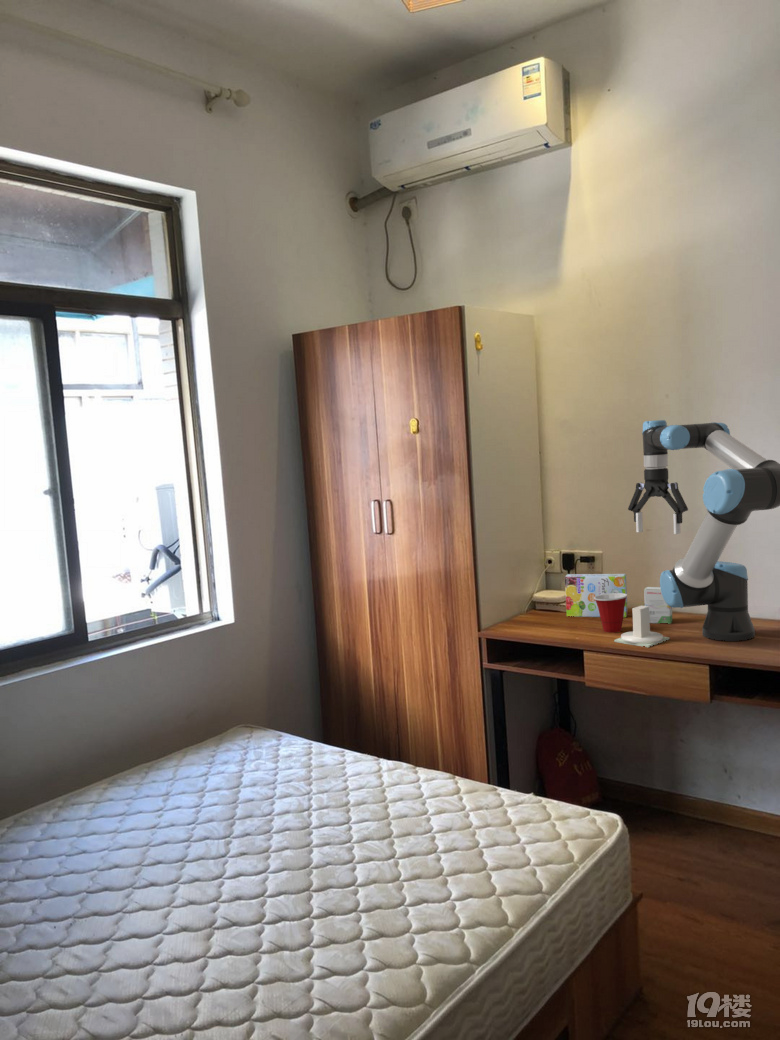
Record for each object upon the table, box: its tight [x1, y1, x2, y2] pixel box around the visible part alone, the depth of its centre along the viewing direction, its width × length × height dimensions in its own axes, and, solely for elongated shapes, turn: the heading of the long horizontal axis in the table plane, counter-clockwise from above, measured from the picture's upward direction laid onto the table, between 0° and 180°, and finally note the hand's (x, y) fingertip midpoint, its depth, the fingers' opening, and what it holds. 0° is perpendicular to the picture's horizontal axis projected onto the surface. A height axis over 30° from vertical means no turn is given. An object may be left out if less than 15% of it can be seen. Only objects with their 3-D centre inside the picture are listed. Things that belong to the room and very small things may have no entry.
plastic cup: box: [594, 593, 628, 633], centre depth 270 cm, size 11×11×12 cm
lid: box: [620, 605, 664, 644], centre depth 255 cm, size 13×13×10 cm
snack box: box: [564, 573, 629, 618], centre depth 293 cm, size 21×6×15 cm, turn 69°
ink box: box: [643, 586, 673, 625], centre depth 278 cm, size 9×5×12 cm, turn 63°
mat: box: [613, 636, 670, 648], centre depth 255 cm, size 12×12×1 cm
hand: (658, 532), depth 267 cm, fingers open, 13 cm apart
